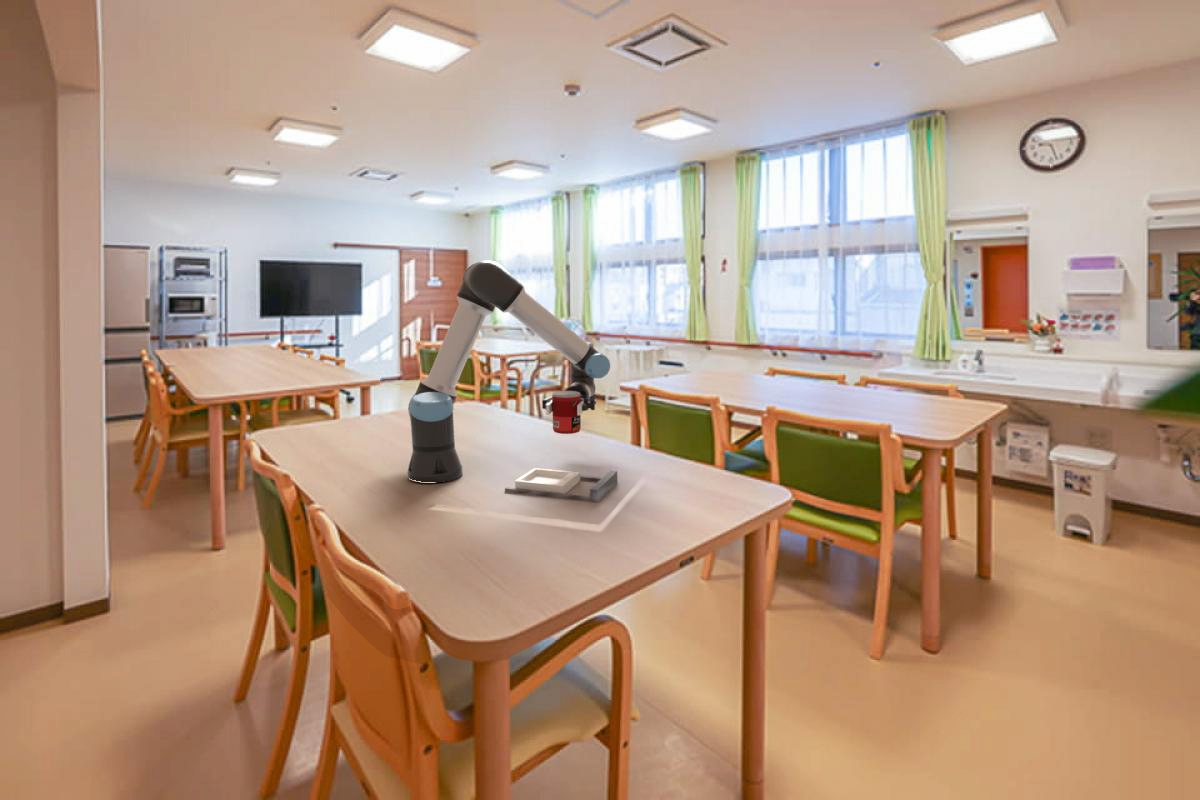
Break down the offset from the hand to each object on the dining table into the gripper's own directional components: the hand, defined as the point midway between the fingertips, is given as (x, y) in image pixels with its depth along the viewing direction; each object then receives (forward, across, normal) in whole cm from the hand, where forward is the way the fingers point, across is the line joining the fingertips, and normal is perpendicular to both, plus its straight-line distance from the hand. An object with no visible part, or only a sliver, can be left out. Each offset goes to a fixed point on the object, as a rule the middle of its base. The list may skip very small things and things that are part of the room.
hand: (563, 410), depth 167 cm
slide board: (+10, -2, -20) cm, 22 cm away
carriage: (+9, +3, -19) cm, 21 cm away
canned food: (-5, 0, -7) cm, 9 cm away
